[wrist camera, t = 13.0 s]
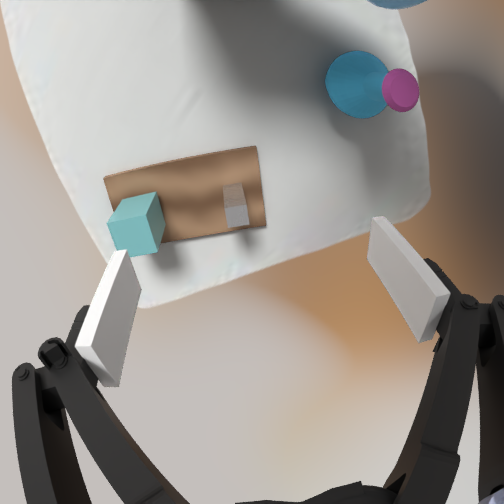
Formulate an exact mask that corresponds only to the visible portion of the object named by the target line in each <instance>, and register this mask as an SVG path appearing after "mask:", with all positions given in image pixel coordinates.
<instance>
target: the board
mask: <svg viewBox="0 0 504 504" xmlns="http://www.w3.org/2000/svg"><path fill="white" fill-rule="evenodd" d="M103 179H104V183H105V186H106V189H107V192H108V196H109V199H110V202H111V205H112V208H113V211H115V210H116V208H117V207H118V205H119V204H120V202H121V201H122V199H126V198H130V197H134V196H139V195H143V194H148V193H152V192H157V195H158V199H159V202H160V206H161V210H162V213H163V217H164V220H165V224H166V225H165V229H164V232H163V236H162V239H161V243H165V242H170V241H176V240H182V239H187V238H193V237H199V236H204V235H210V234H216V233H222V232H228V231H234V230H240V229H246V228H252V227H258V226H265V225H266V220H265V212H264V203H263V195H262V187H261V179H260V171H259V163H258V155H257V148H256V146H250V147H244V148H237V149H231V150H225V151H219V152H213V153H207V154H202V155H197V156H191V157H186V158H181V159H176V160H171V161H167V162H162V163H158V164H153V165H149V166H144V167H140V168H136V169H132V170H128V171H124V172H120V173H116V174H112V175H108V176H105V177H104V178H103ZM235 183H242V187H243V191H244V196H245V200H246V204H247V211H248V217H249V225H243V226H237V227H231V228H228V225H227V220H226V214H225V209H224V195H223V185H228V184H235Z"/></svg>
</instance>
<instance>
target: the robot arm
mask: <svg viewBox="0 0 504 504" xmlns="http://www.w3.org/2000/svg"><path fill="white" fill-rule="evenodd" d="M367 1H369V2H371V3H372V4H374V5H376V6H378V7H383V8H386V9H404V8H408V7H412V6H415V5H418V4H420V3H423V2H424V1H427V0H367ZM367 260H368V262H369V263H370V265H371V266H372V268H373V269H374V271H375V272H376V273H377V275H378V277H379V278H380V280H381V282H382V283H383V285H384V286H385V288H386V289H387V291H388V293H389V294H390V296H391V297H392V299H393V301H394V302H395V304H396V306H397V307H398V309H399V310H400V312H401V314H402V315H403V317H404V319H405V320H406V322H407V324H408V326H409V327H410V329H411V330H412V332H413V334H414V336H415V338H416V339H417V341H418V343H421V342H424V341H427V340H431V339H432V338H433V336H434V334H435V331H436V330H437V332H438V333H439V335H440V337H439V339H438V341H437V343H436V345H435V348H434V350H433V352H435V354H434V358H433V362H432V365H431V369H430V373H429V376H428V379H427V383H426V386H425V390H424V393H423V396H422V399H421V402H420V405H419V408H418V411H417V414H416V417H415V419H414V422H413V425H412V427H411V430H410V432H409V435H408V438H407V440H406V443H405V445H404V448H403V450H402V452H401V454H400V457H399V459H398V461H397V464H396V466H395V468H394V469H393V471H392V473H391V474H390V476H389V477H388V479H387V480H386V482H385V484H384V486H383V488H382V487H377V486H367V485H362V483H361V481H359V482H355V483H352V484H348V485H344V486H340V487H336V488H332V489H330V490H327V491H325V492H323V493H321V494H319V495H317V496H314V497H312V498H310V499H308V500H305V501H303V502H284V501H272V500H262V501H254V502H242V503H235V504H445V503H446V500H447V498H448V496H449V493H450V490H451V487H452V484H453V482H454V479H455V476H456V473H457V470H458V467H459V463H460V455H458V454H457V451H458V446H459V442H460V439H461V436H462V432H463V428H464V424H465V419H466V415H467V410H468V406H469V401H470V396H471V391H472V385H473V378H474V373H475V366H476V368H477V378H478V390H479V406H480V463H479V482H478V495H479V503H478V504H504V296H503V295H497V296H495V297H494V299H493V301H492V303H491V304H482V303H479V302H478V300H476V299H475V298H474V297H473V296H470V295H467V294H461V292H460V291H459V290H458V289H457V288H456V286H455V285H454V284H453V283H452V282H451V280H450V279H449V278H448V277H447V275H446V274H445V273H444V272H442V269H441V268H439V266H438V265H437V264H436V263H435V262H433V261H432V260H430V259H429V258H427V259H422V258H421V256H420V255H419V254H418V253H417V252H416V251H415V249H414V248H413V247H412V246H411V245H410V244H409V243H408V242H407V240H406V239H405V238H404V237H403V236H402V235H401V234H400V233H399V232H398V230H396V228H395V227H394V226H393V225H392V224H391V223H390V222H389V221H388V220H387V219H386V218H385V216H378V217H372V220H371V229H370V238H369V247H368V254H367ZM141 290H142V289H141V287H140V284H139V281H138V279H137V276H136V273H135V271H134V268H133V265H132V262H131V260H130V257H129V254H128V251H127V249H125V250H119V251H114V253H113V255H112V257H111V259H110V261H109V263H108V266H107V268H106V270H105V272H104V274H103V277H102V279H101V281H100V284H99V286H98V288H97V291H96V293H95V295H94V298H93V300H92V303H91V305H86V306H83V307H82V308H81V310H80V311H79V312H78V313H77V315H76V318H75V320H74V323H73V325H72V327H71V330H70V332H69V335H68V338H67V340H66V342H65V343H64V342H63V341H62V340H61V339H60V338H57V337H55V338H51V339H49V340H46V341H45V342H44V343H43V344H42V345H41V347H40V348H39V351H38V357H39V359H40V360H41V362H42V363H43V364H44V365H45V367H42V368H38V369H35V368H34V367H33V365H31V364H30V363H23V364H21V365H20V366H18V367H17V368H16V369H15V371H14V373H13V376H12V399H13V417H14V429H15V438H16V447H17V454H18V461H19V467H20V472H21V478H22V483H23V488H24V493H25V497H26V501H27V504H92V503H91V500H90V497H89V495H88V492H87V489H86V486H85V483H84V480H83V477H82V473H81V470H80V467H79V464H78V460H77V457H76V453H75V449H74V446H73V442H72V438H71V434H70V429H69V425H68V420H67V416H66V411H65V408H66V410H67V412H68V414H69V416H70V418H71V420H72V422H73V424H74V426H75V427H76V429H77V431H78V433H79V435H80V436H81V438H82V440H83V442H84V443H85V445H86V447H87V449H88V450H89V452H90V454H91V455H92V457H93V458H94V460H95V462H96V463H97V465H98V466H99V468H100V469H101V471H102V473H103V474H104V476H105V477H106V479H107V480H108V482H109V483H110V484H111V486H112V487H113V489H114V490H115V491H116V493H117V494H118V496H119V497H120V498H121V500H122V501H123V502H124V504H190V503H189V502H188V501H187V500H185V499H184V498H183V496H182V495H181V494H180V493H179V492H178V491H177V490H176V489H175V488H174V487H173V486H172V485H171V484H170V483H169V481H168V480H167V479H166V478H165V477H164V476H163V475H162V474H161V473H160V471H159V470H158V469H157V468H156V467H155V465H153V463H152V462H151V461H150V460H149V458H148V457H147V456H146V455H145V453H144V452H143V451H142V450H141V448H140V447H139V446H138V445H137V444H136V442H135V441H134V439H133V438H132V437H131V435H130V434H129V433H128V431H127V430H126V429H125V428H124V426H123V425H122V423H121V422H120V420H119V419H118V418H117V416H116V415H115V413H114V412H113V410H112V409H111V407H110V406H109V404H108V403H107V401H106V400H105V398H104V397H103V395H102V394H101V392H100V391H99V389H98V388H97V387H96V386H97V382H98V380H99V381H100V382H101V384H102V385H103V386H104V387H119V384H120V379H121V373H122V369H123V364H124V359H125V355H126V350H127V346H128V342H129V337H130V333H131V329H132V325H133V321H134V317H135V313H136V309H137V305H138V301H139V297H140V294H141Z"/></svg>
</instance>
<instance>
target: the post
mask: <svg viewBox="0 0 504 504" xmlns="http://www.w3.org/2000/svg"><path fill="white" fill-rule="evenodd" d="M223 195H224V209H225V214H226V220H227V225H228V228H231V227H237V226H243V225H249V217H248V211H247V204H246V200H245V196H244V191H243V187H242V183H235V184H228V185H223Z"/></svg>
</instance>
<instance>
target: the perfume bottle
mask: <svg viewBox="0 0 504 504" xmlns="http://www.w3.org/2000/svg"><path fill="white" fill-rule="evenodd" d="M325 83H326V88H327V91H328V94H329V96H330V98H331V100H332V102H333V103H334V104H335V105H336V107H337V108H339V109H340V110H341V111H342V112H344V113H346V114H348V115H349V116H352V117H355V118H369V117H373V116H375V115H377V114H379V113H380V112H381V111H382V110H383V109H384V108H385V107H386V106H387V104H388V105H389V106H390V107H391V108H392V109H393V110H396V111H398V112H406V111H409V110H411V109H412V108H413V107H414V106H415V105H416V103H417V101H418V98H419V87H418V83H417V81H416V79H415V78H414V76H413V75H412V74H411V73H410V72H408V71H406V70H404V69H393V70H391V71H390V72H388V70H387V68H386V67H385V65H384V64H383V63H382V62H381V61H380V60H379V59H378V58H377V57H375V56H374V55H372V54H370V53H367V52H363V51H351V52H347V53H345V54H343V55H340V56H339V57H338V58H336V59H335V60H334V61H333V63H332V64H331V65H330V67H329V69H328V72H327V74H326V80H325Z"/></svg>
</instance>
